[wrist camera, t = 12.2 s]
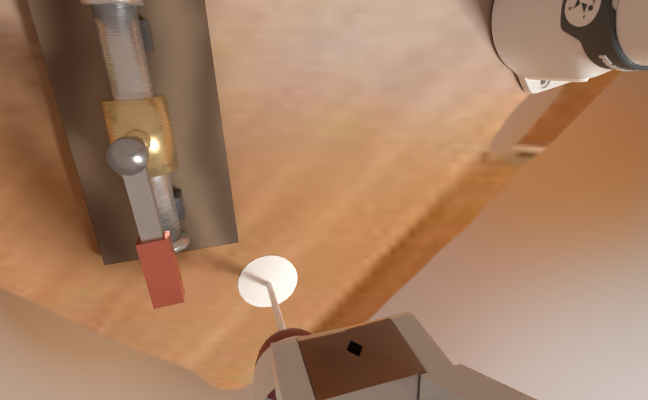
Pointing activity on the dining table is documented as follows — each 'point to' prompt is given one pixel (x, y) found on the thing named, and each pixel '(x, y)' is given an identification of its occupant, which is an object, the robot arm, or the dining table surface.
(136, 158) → the valve lever
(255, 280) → the wineglass
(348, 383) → the robot arm
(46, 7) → the walnut board
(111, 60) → the pipe valve
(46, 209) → the dining table surface
